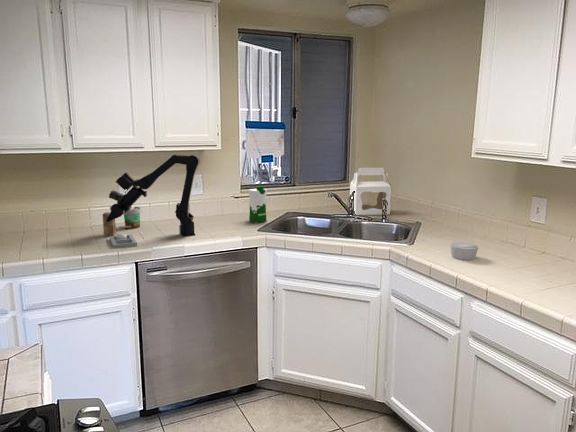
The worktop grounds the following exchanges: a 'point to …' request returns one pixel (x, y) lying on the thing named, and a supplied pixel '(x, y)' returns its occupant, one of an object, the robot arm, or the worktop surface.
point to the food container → (132, 218)
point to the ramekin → (463, 250)
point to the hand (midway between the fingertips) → (109, 219)
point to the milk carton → (257, 204)
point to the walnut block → (108, 226)
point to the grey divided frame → (123, 241)
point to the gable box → (371, 186)
